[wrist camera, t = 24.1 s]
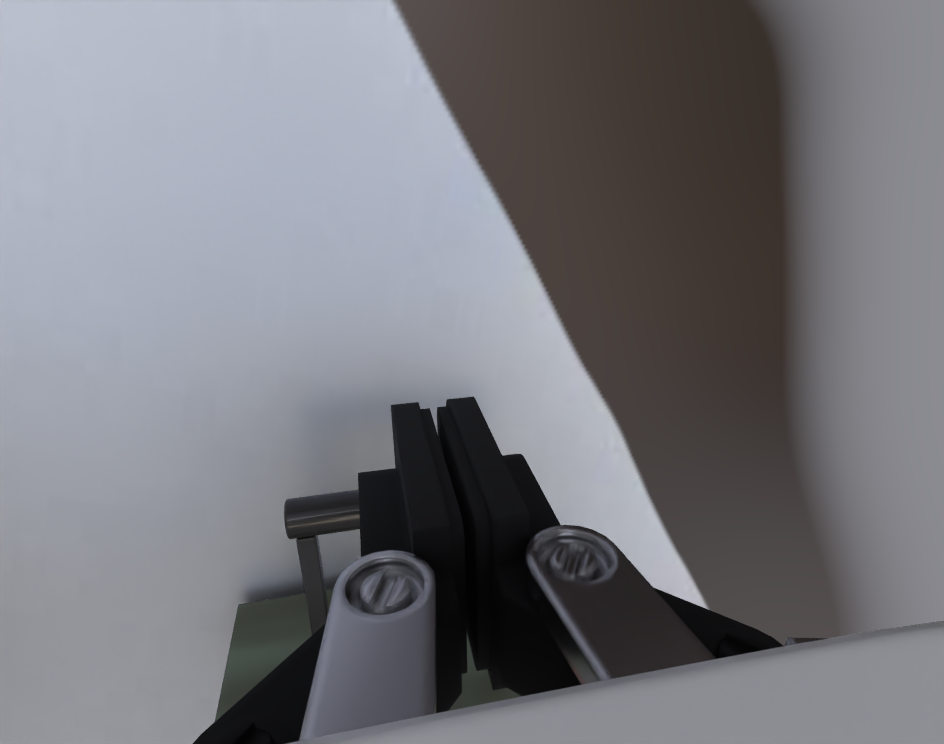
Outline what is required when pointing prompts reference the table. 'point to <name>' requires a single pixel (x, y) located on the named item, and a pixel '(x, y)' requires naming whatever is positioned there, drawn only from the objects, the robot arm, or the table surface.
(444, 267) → the table surface
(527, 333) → the table surface
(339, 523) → the handled lid slab
